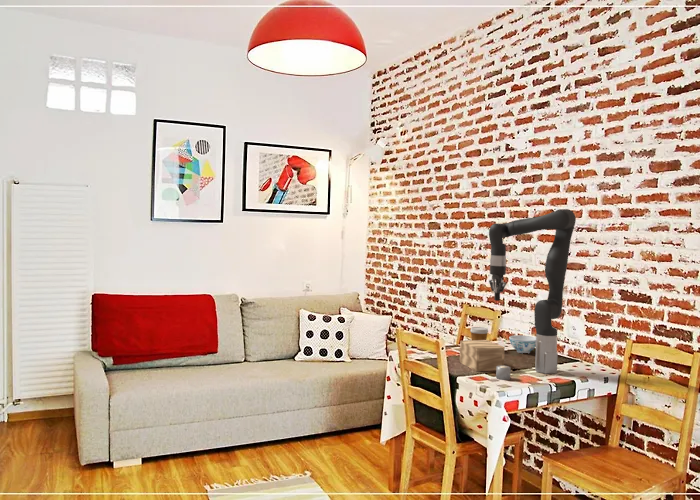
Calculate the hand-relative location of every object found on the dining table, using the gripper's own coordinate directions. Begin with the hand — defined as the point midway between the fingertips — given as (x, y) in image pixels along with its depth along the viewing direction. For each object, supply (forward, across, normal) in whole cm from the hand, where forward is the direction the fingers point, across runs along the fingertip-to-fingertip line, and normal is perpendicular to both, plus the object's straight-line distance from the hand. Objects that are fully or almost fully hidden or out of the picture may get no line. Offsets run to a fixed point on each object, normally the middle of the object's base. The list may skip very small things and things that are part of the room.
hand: (497, 300), depth 293 cm
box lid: (+21, -4, +9) cm, 23 cm away
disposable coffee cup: (+31, +29, -6) cm, 43 cm away
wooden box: (+31, -4, +10) cm, 32 cm away
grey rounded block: (+31, -27, +11) cm, 42 cm away
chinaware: (+31, +20, -28) cm, 46 cm away
